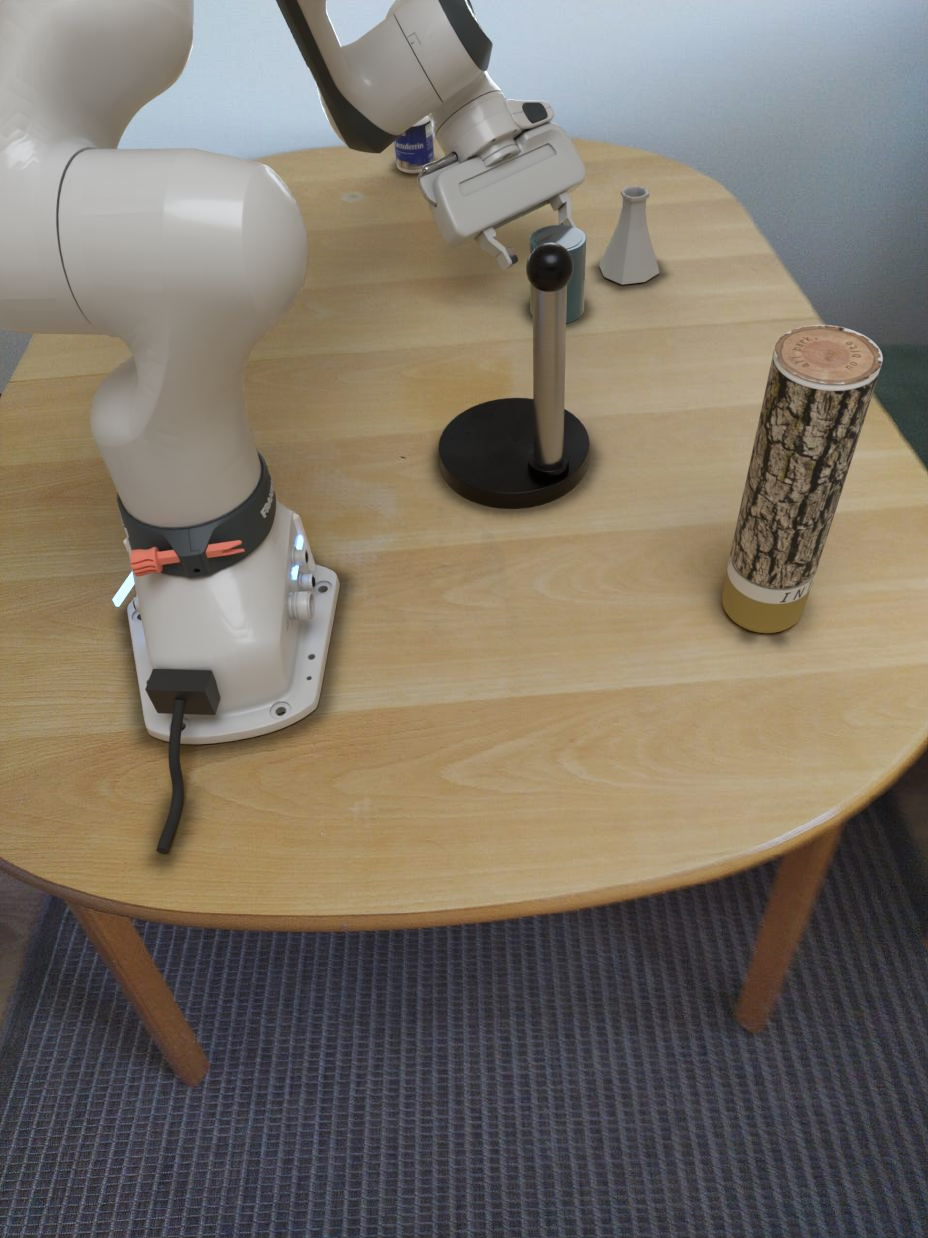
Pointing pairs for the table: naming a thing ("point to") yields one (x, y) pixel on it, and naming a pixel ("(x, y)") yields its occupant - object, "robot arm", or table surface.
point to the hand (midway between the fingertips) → (541, 250)
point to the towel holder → (524, 414)
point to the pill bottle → (415, 147)
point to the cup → (576, 247)
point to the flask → (630, 242)
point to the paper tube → (797, 471)
